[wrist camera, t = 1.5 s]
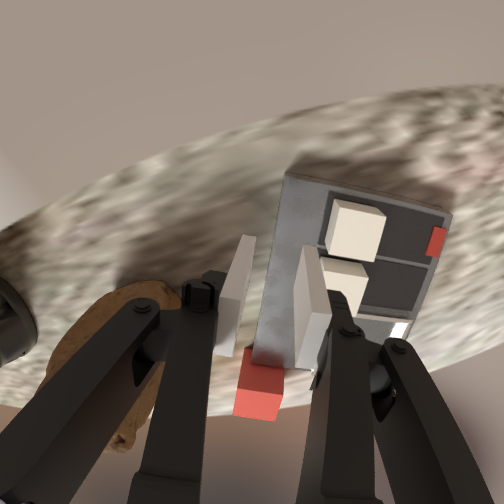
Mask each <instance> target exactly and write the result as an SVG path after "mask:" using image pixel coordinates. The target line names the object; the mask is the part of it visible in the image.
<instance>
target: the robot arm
mask: <svg viewBox="0 0 504 504" xmlns="http://www.w3.org/2000/svg"><path fill="white" fill-rule="evenodd" d="M255 244H256V237H254V236H248V235H242V238H241V240H240V243H239V245H238V248H237V251H236V253H235V256H234V259H233V261H232V264H231V267H230V269H229V272H228V273H223V272H218V271H212V270H209V271H208V272H206V273H204V274H203V276H202V277H201V279H194V280H189V281H187V282H185V283H184V284H183V285H182V299H181V308H179V309H174V310H160V306H159V304H158V303H157V302H156V301H155V300H152V299H150V298H143V297H142V298H141V297H140V298H135V299H131V300H130V301H128V302H127V303H126V304H125V305H124V306H123V307H122V308H121V309H120V310H119V311H117V312H116V313H115V314H114V315H113V316H112V317H111V318H110V319H109V320H108V321H107V322H106V323H105V324H104V325H103V326H102V327H101V328H100V329H99V330H98V331H97V332H96V333H95V334H94V335H93V336H92V337H91V338H90V339H89V340H88V341H87V342H86V343H85V344H84V345H83V346H82V347H81V348H80V349H79V350H78V351H77V352H76V353H75V354H74V355H73V356H72V357H71V358H70V359H69V360H68V361H67V362H66V363H65V364H64V365H63V366H62V367H61V368H60V369H59V370H58V371H57V373H56V374H55V375H54V376H53V377H52V378H51V379H50V380H49V381H48V382H47V383H46V384H45V385H44V386H43V387H42V388H41V389H40V390H39V391H38V393H37V394H36V395H35V396H34V397H33V398H32V399H31V400H30V401H29V402H28V403H27V404H26V405H25V407H24V408H23V409H22V410H21V411H20V412H19V413H18V414H17V415H16V417H15V418H14V419H13V420H12V421H11V422H10V423H9V424H8V425H7V427H6V428H5V429H4V430H3V431H2V432H1V433H0V504H69V503H70V501H71V499H72V498H73V496H74V495H75V493H76V492H77V490H78V489H79V487H80V486H81V484H82V483H83V481H84V479H85V478H86V476H87V475H88V473H89V472H90V470H91V469H92V467H93V466H94V464H95V463H96V461H97V459H98V458H99V456H100V455H101V453H102V452H103V450H104V449H105V447H106V446H107V444H108V443H109V441H110V440H111V438H112V437H113V435H114V433H115V432H116V430H117V429H118V427H119V426H120V424H121V423H122V421H123V420H124V418H125V417H126V415H127V414H128V412H129V411H130V409H131V408H132V406H133V405H134V403H135V402H136V400H137V399H138V397H139V396H140V394H141V393H142V391H143V390H144V388H145V387H146V385H147V384H148V382H149V381H150V379H151V378H152V376H153V375H154V373H155V372H156V370H157V369H158V367H159V366H160V364H161V362H165V366H164V370H163V374H162V378H161V381H160V385H159V389H158V393H157V397H156V401H155V406H154V410H153V414H152V418H151V422H150V427H149V431H148V436H147V440H146V444H145V449H144V453H143V458H142V462H141V467H140V469H139V471H138V472H136V473H135V474H134V477H133V479H132V483H131V487H130V491H129V496H128V501H127V504H200V496H201V481H202V467H203V454H204V442H205V429H206V418H207V406H208V395H209V385H210V374H211V364H212V354H213V350H214V354H216V355H222V356H227V357H233V352H234V348H235V344H236V339H237V335H238V330H239V326H240V321H241V317H242V313H243V308H244V304H245V299H246V295H247V290H248V286H249V282H250V275H251V269H252V263H253V256H254V250H255ZM293 295H294V330H295V367H296V368H304V369H312V370H314V367H315V364H316V361H317V364H318V369H317V372H316V374H315V377H314V379H313V382H312V385H311V387H310V390H313V393H312V402H311V410H310V417H309V425H308V432H307V438H306V445H305V452H304V458H303V464H302V470H301V476H300V482H299V487H298V493H297V498H296V503H295V504H383V502H382V501H381V500H379V499H377V498H376V497H375V492H374V491H375V489H374V488H375V482H374V481H375V480H374V479H375V478H374V477H375V475H374V474H375V472H374V470H375V469H374V436H375V439H376V442H377V445H378V448H379V451H380V454H381V457H382V461H383V464H384V467H385V470H386V473H387V477H388V480H389V483H390V487H391V490H392V494H393V497H394V500H395V504H494V502H493V499H492V497H491V495H490V492H489V490H488V488H487V485H486V483H485V481H484V479H483V476H482V474H481V472H480V470H479V468H478V466H477V464H476V461H475V459H474V457H473V455H472V453H471V451H470V449H469V447H468V445H467V443H466V441H465V439H464V437H463V435H462V433H461V431H460V429H459V427H458V425H457V423H456V422H455V420H454V418H453V416H452V414H451V412H450V410H449V408H448V407H447V405H446V403H445V401H444V399H443V397H442V396H441V394H440V392H439V390H438V389H437V387H436V385H435V383H434V382H433V380H432V378H431V376H430V375H429V373H428V371H427V370H426V368H425V366H424V364H423V363H422V361H421V359H420V358H419V356H418V354H417V353H416V351H415V349H414V348H413V347H412V345H411V344H410V343H408V342H407V341H406V340H404V339H402V338H397V337H389V338H387V339H385V341H384V343H383V345H381V344H378V343H375V342H372V341H370V340H367V339H366V338H365V333H364V331H363V330H362V329H361V328H360V327H359V326H357V325H356V324H354V321H353V317H352V314H351V311H350V308H349V305H348V301H347V298H346V296H345V295H344V294H343V293H342V292H341V291H336V290H330V289H326V284H325V280H324V276H323V271H322V267H321V263H320V259H319V254H318V250H317V247H312V246H307V245H303V248H302V252H301V257H300V261H299V266H298V270H297V275H296V279H295V283H294V288H293ZM36 341H37V333H36V328H35V324H34V321H33V319H32V316H31V314H30V312H29V310H28V308H27V307H26V305H25V303H24V302H23V300H22V299H21V297H20V296H19V295H18V293H17V292H16V291H15V290H14V289H13V288H12V287H11V286H10V285H9V284H8V283H7V282H6V281H4V280H3V279H1V278H0V368H1V367H2V366H3V365H5V364H7V363H9V362H11V361H13V360H16V359H17V358H19V357H22V356H24V355H26V354H27V353H28V352H29V351H30V350H31V349H32V348H33V347H34V346H35V344H36ZM394 390H396V393H395V391H394Z"/></svg>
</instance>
